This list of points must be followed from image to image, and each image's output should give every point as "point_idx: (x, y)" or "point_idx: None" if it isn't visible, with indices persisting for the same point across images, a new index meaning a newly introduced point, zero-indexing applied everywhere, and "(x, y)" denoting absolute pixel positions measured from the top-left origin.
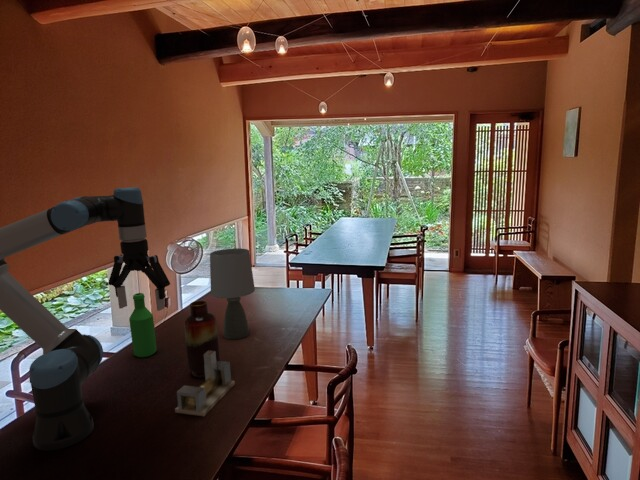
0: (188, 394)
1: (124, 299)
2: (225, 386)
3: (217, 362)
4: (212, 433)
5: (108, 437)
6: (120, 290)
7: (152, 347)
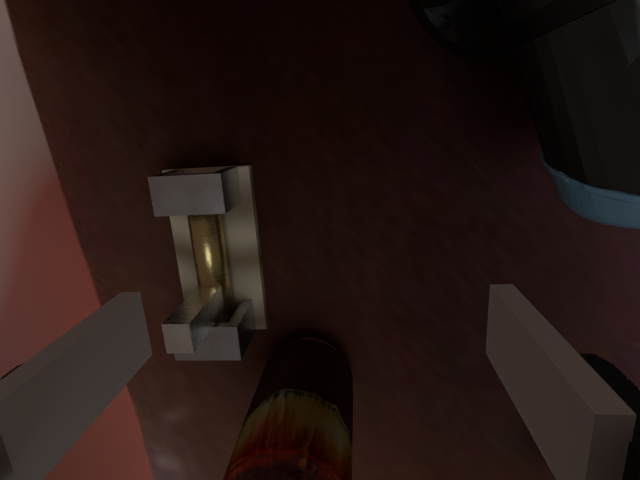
0: (181, 174)
1: (510, 369)
2: None
3: (208, 350)
4: (98, 107)
5: (346, 4)
6: (567, 408)
7: None
